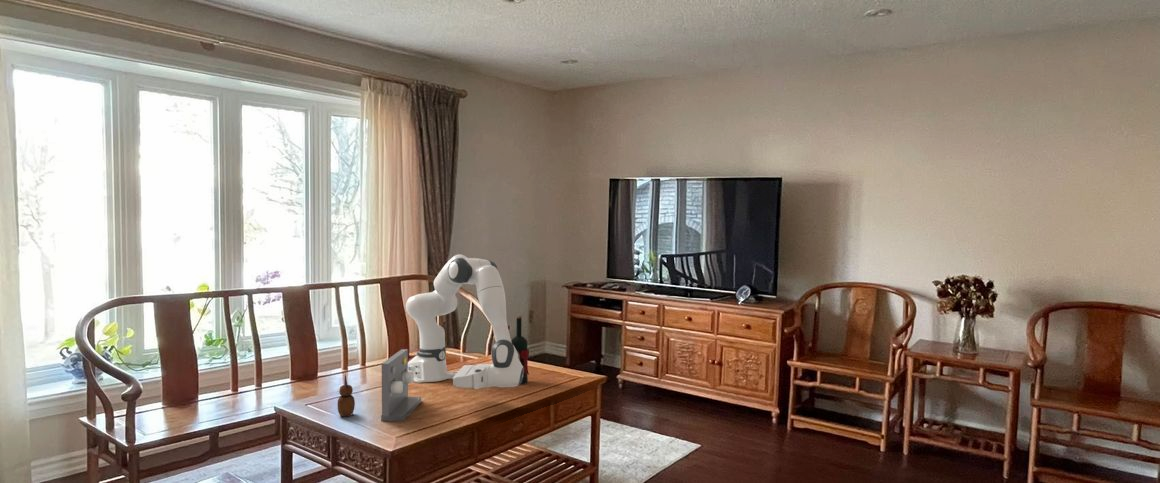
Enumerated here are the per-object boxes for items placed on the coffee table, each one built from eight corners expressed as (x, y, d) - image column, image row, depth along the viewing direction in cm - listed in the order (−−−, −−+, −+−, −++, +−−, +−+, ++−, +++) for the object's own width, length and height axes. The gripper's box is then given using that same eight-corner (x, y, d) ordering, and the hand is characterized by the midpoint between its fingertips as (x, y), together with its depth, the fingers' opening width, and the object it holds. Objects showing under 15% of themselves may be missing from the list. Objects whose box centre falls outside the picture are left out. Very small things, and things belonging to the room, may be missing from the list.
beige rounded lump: (413, 381, 259) (413, 370, 259) (410, 384, 255) (410, 373, 255) (405, 381, 259) (405, 370, 259) (402, 384, 255) (402, 373, 255)
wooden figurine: (340, 412, 248) (340, 373, 247) (356, 412, 248) (356, 373, 248) (335, 418, 241) (335, 377, 240) (351, 418, 242) (351, 377, 241)
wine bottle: (520, 386, 285) (520, 318, 283) (506, 382, 292) (506, 315, 291) (534, 383, 290) (535, 316, 289) (520, 379, 298) (520, 313, 296)
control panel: (421, 401, 262) (420, 349, 261) (403, 421, 238) (402, 364, 237) (401, 401, 263) (400, 349, 262) (381, 421, 239) (380, 363, 238)
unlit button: (403, 391, 245) (403, 380, 245) (399, 395, 241) (399, 383, 241) (394, 391, 245) (394, 379, 245) (390, 394, 241) (390, 383, 241)
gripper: (486, 361, 266) (452, 361, 267) (477, 373, 246) (440, 373, 246) (486, 376, 266) (452, 376, 267) (477, 390, 246) (440, 390, 246)
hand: (446, 375), depth 256 cm, fingers closed
